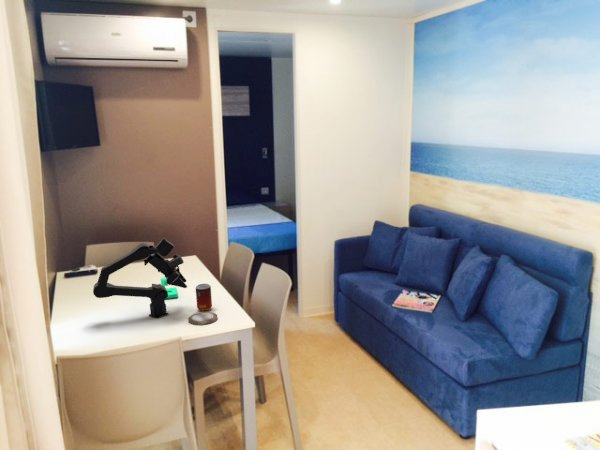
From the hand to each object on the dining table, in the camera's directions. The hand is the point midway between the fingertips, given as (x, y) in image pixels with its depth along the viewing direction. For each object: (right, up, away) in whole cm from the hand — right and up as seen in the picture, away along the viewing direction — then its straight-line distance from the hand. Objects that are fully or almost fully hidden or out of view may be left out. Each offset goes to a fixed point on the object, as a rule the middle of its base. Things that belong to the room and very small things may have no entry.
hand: (186, 284), depth 235 cm
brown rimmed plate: (+9, -15, -8) cm, 19 cm away
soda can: (+8, -13, +4) cm, 16 cm away
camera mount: (-14, -9, +26) cm, 32 cm away
